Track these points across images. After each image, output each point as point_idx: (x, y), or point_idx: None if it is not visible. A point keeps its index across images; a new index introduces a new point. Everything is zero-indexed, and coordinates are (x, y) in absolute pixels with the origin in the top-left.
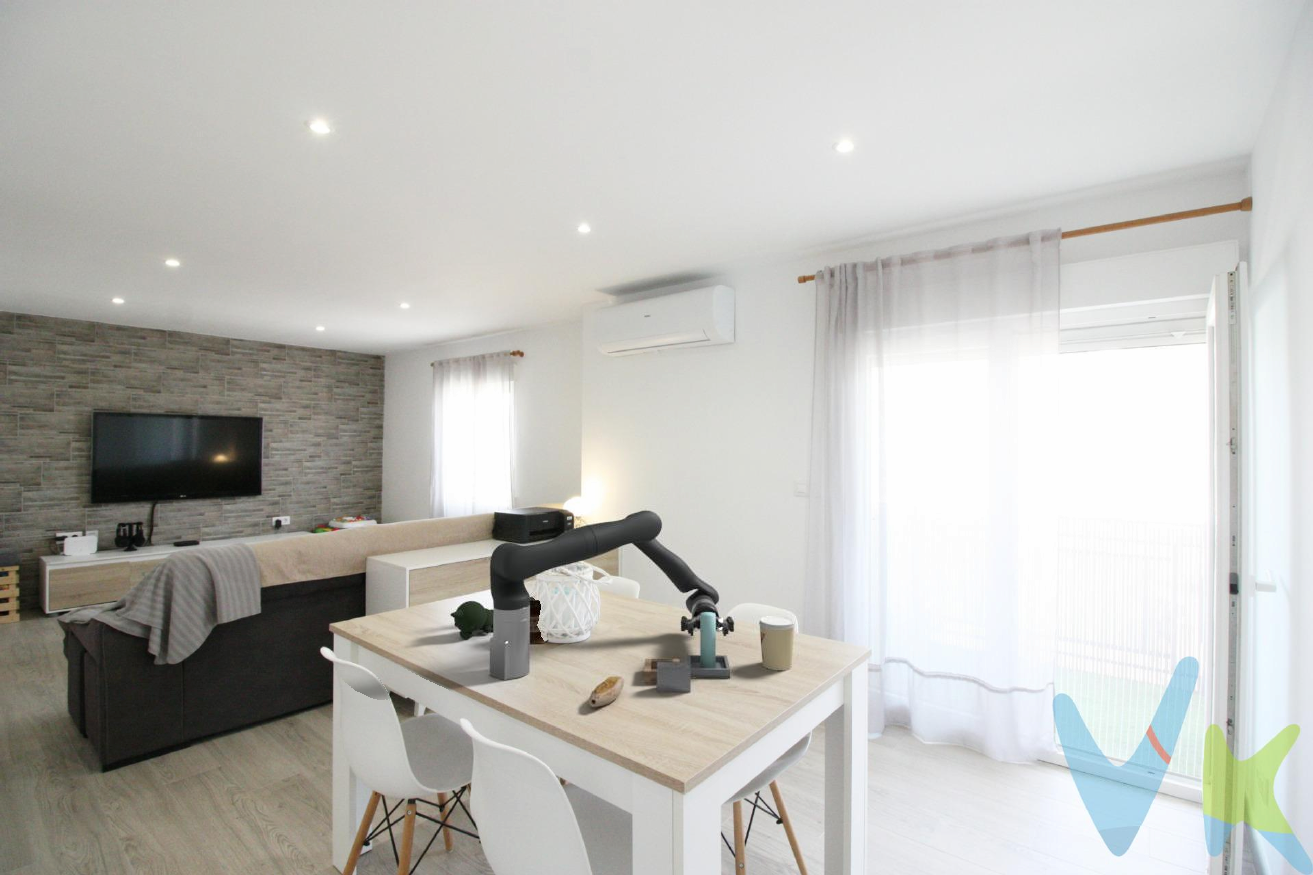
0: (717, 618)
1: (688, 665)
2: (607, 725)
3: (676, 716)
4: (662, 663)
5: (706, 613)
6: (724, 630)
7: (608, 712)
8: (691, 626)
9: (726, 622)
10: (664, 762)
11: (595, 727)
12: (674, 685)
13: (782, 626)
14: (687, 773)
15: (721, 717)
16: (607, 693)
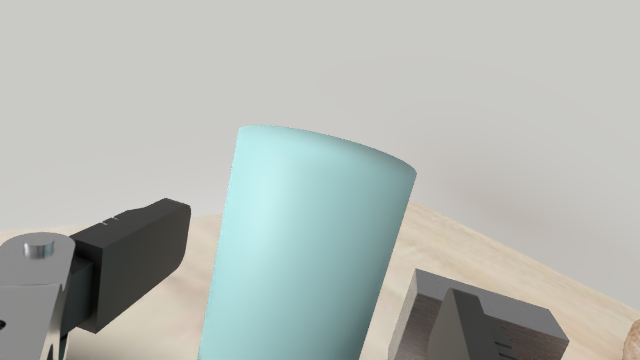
0: (14, 322)
1: (423, 277)
2: (563, 295)
3: None
4: (538, 322)
5: (339, 158)
6: (183, 218)
7: (596, 333)
8: (473, 306)
9: (16, 245)
10: (435, 217)
11: (583, 298)
12: None
13: None
14: None
15: None
16: (637, 327)
